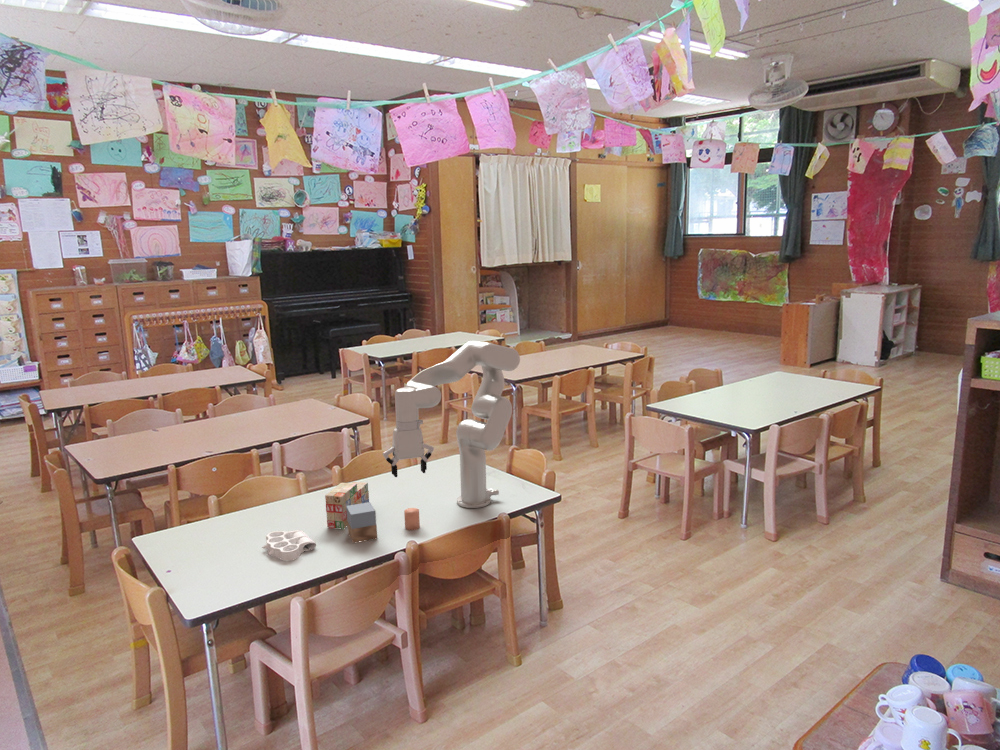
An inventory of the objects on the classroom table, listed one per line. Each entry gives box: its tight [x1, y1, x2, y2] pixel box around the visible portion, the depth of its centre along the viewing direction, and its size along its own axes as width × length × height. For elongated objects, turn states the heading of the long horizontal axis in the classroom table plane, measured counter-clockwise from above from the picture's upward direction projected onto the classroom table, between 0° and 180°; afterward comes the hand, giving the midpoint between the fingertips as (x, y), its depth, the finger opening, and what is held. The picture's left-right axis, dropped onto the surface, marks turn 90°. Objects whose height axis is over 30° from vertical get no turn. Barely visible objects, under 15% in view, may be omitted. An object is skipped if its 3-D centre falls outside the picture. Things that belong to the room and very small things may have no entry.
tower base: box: [347, 523, 378, 544], centre depth 232 cm, size 8×8×5 cm
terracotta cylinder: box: [404, 507, 421, 531], centre depth 238 cm, size 5×5×6 cm
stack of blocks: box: [324, 481, 370, 530], centre depth 247 cm, size 21×6×12 cm, turn 166°
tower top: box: [346, 501, 377, 529], centre depth 231 cm, size 8×8×5 cm
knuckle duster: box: [261, 529, 317, 561], centre depth 224 cm, size 3×18×15 cm
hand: (409, 474), depth 235 cm, fingers open, 9 cm apart
